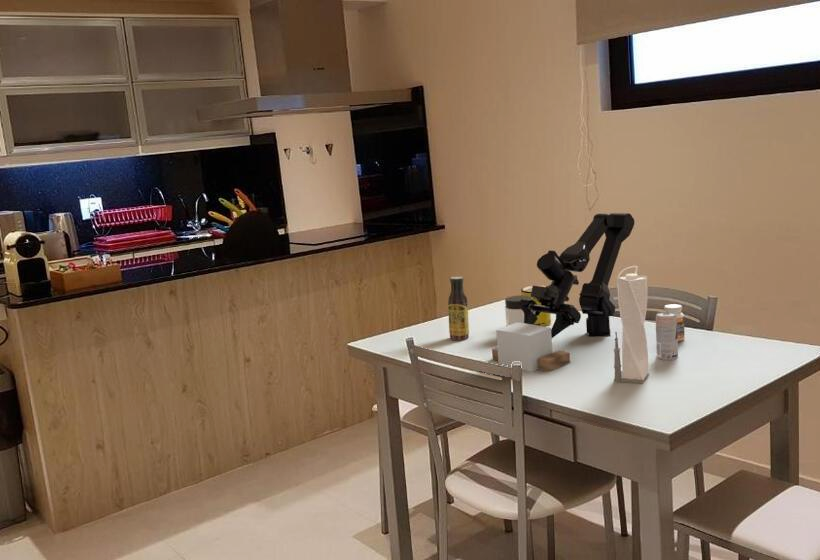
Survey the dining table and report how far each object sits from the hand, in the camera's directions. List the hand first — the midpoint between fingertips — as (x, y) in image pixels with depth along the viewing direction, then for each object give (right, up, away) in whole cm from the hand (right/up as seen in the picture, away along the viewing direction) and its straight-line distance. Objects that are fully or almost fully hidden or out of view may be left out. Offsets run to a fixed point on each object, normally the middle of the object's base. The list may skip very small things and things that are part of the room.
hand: (536, 335), depth 212 cm
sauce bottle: (-20, -3, +29) cm, 35 cm away
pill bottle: (+41, -2, +6) cm, 41 cm away
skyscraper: (+21, -9, -22) cm, 32 cm away
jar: (-1, -2, +26) cm, 26 cm away
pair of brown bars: (-2, -7, -1) cm, 7 cm away
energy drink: (+34, -5, -9) cm, 35 cm away
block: (-3, -8, -2) cm, 9 cm away
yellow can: (+6, +1, +37) cm, 37 cm away
